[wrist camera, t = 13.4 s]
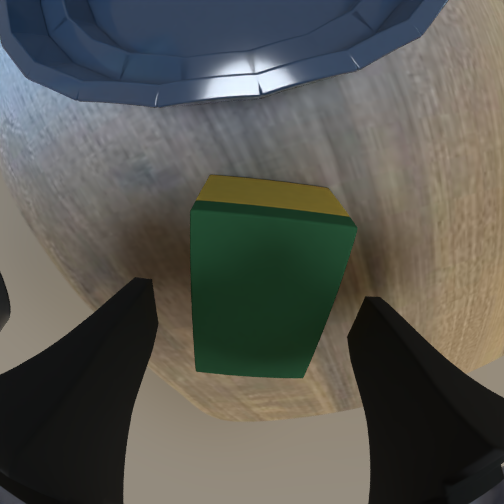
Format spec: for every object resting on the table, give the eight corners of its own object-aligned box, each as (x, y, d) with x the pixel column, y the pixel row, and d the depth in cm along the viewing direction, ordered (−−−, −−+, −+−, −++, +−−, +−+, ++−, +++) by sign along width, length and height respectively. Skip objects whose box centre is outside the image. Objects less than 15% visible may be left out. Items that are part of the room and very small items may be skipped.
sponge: (295, 321, 14) (303, 378, 11) (206, 315, 13) (195, 372, 10) (328, 187, 10) (359, 227, 7) (209, 174, 10) (189, 209, 7)
